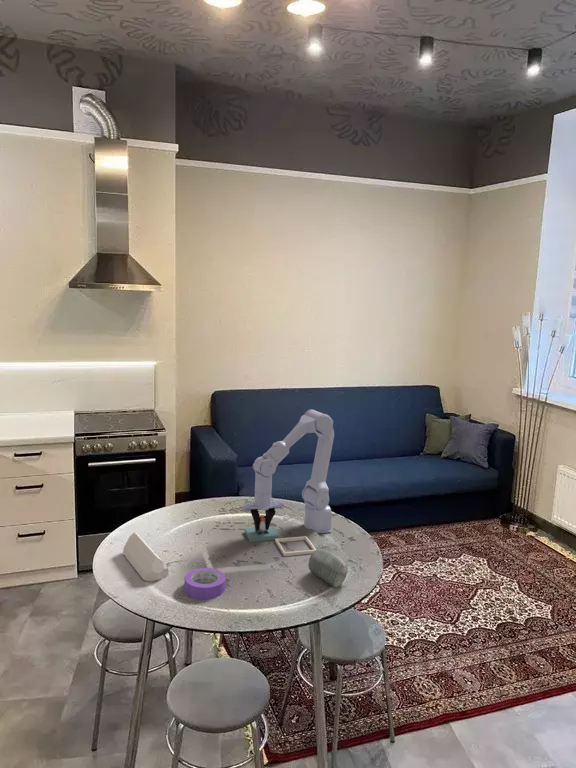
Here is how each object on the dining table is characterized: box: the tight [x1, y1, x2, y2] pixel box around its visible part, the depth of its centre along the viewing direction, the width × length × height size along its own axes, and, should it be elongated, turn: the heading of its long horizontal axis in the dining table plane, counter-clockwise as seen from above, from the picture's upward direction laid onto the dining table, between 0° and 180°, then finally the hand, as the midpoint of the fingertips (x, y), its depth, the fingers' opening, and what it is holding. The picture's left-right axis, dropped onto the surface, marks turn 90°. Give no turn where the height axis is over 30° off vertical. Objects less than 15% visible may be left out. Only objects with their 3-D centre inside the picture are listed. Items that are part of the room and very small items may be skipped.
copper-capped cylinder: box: [257, 514, 267, 535], centre depth 202 cm, size 3×3×7 cm
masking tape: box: [183, 567, 226, 600], centre depth 169 cm, size 12×12×4 cm
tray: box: [274, 535, 318, 557], centre depth 195 cm, size 11×11×2 cm
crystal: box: [122, 532, 169, 582], centre depth 181 cm, size 7×7×24 cm
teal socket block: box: [244, 525, 280, 543], centre depth 203 cm, size 10×8×3 cm
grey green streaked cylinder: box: [308, 548, 348, 587], centre depth 177 cm, size 14×10×10 cm
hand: (261, 529), depth 203 cm, fingers closed on copper-capped cylinder, 3 cm apart
